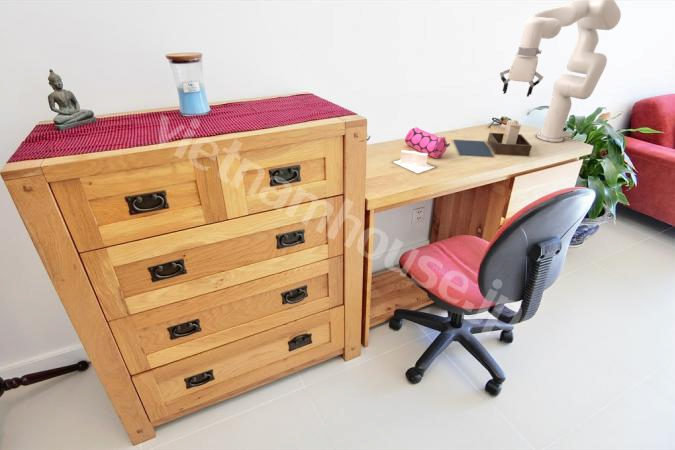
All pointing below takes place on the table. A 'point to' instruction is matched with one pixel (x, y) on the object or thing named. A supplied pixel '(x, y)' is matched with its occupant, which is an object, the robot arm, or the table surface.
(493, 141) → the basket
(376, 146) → the table surface
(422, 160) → the napkin holder
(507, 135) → the supplement box
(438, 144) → the pencil case
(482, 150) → the mat
